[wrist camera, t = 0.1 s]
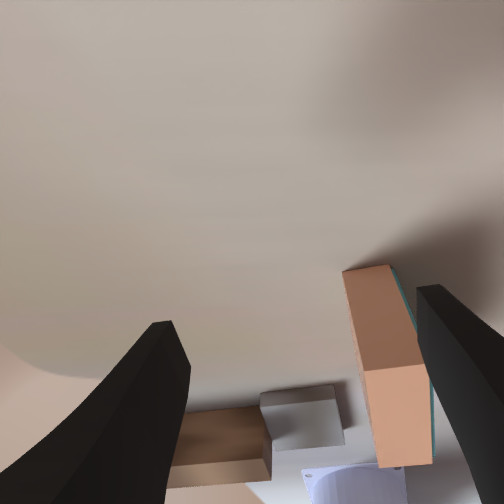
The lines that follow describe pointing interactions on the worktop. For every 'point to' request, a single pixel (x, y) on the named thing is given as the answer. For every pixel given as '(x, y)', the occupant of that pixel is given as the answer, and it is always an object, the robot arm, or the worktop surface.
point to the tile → (390, 368)
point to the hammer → (253, 436)
